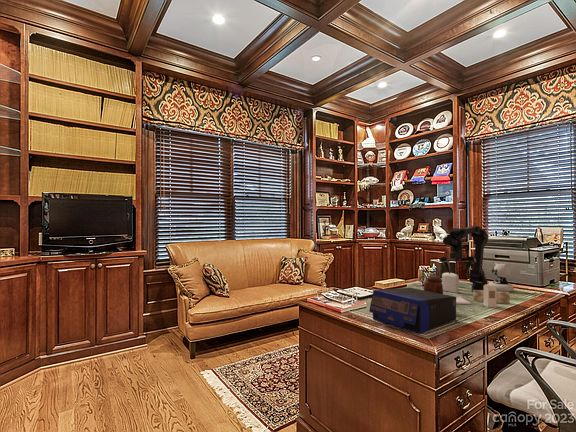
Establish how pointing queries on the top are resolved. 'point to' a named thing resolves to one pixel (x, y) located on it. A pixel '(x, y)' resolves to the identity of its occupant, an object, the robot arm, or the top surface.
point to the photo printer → (450, 282)
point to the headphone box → (413, 308)
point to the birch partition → (500, 296)
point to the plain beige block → (489, 296)
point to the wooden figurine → (433, 284)
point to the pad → (461, 301)
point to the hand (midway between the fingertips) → (458, 274)
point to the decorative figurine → (501, 278)
